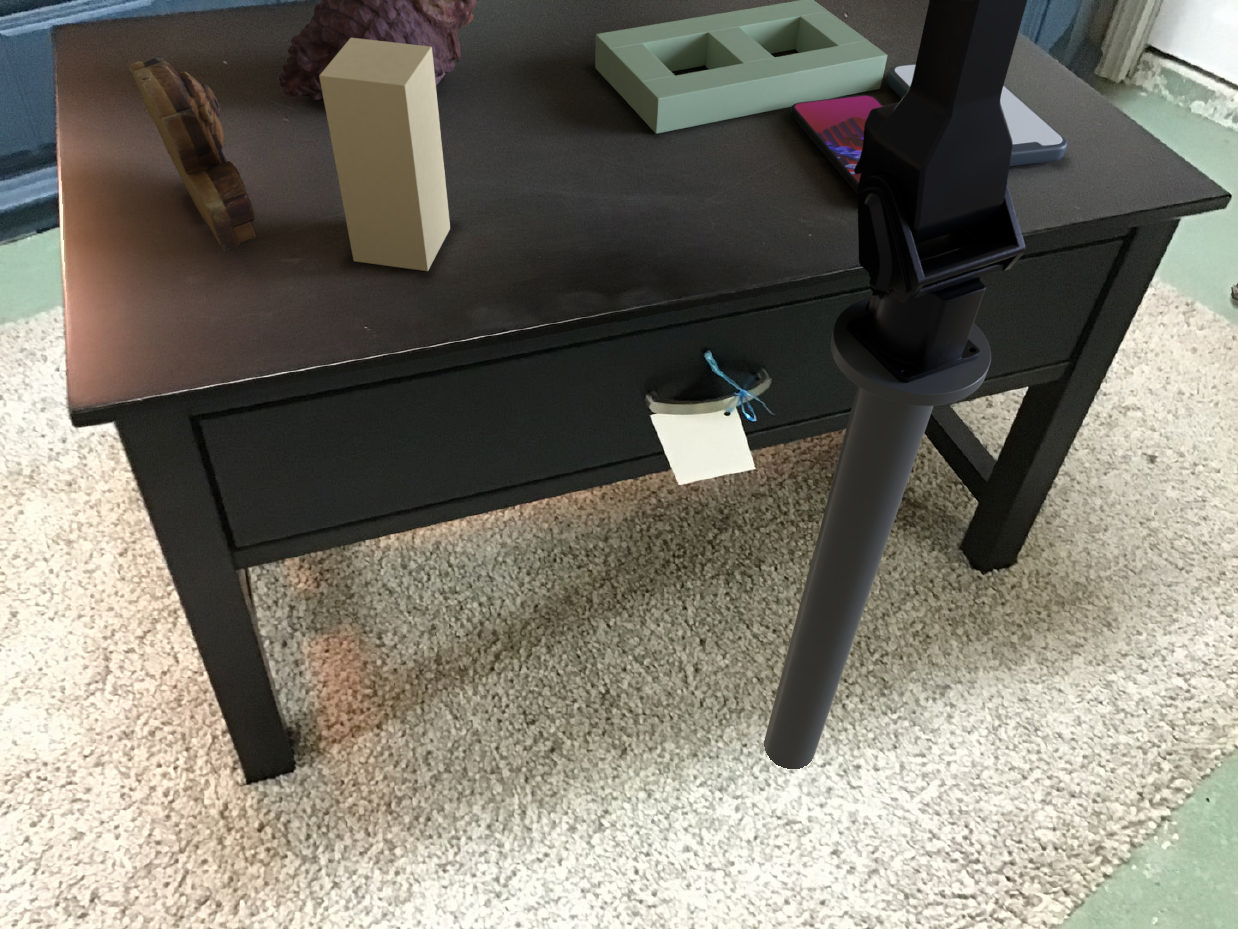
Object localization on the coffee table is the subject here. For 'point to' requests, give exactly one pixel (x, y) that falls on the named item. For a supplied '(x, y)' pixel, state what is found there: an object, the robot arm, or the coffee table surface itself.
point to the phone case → (1025, 126)
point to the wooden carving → (197, 147)
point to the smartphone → (837, 129)
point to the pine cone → (373, 35)
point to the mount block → (737, 64)
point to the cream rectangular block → (388, 151)
